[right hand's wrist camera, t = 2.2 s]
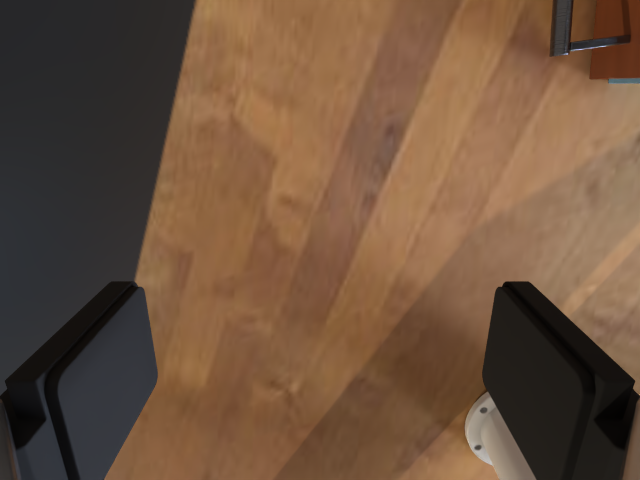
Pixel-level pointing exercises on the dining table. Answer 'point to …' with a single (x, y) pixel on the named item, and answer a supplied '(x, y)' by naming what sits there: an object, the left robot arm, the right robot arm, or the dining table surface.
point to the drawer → (602, 37)
